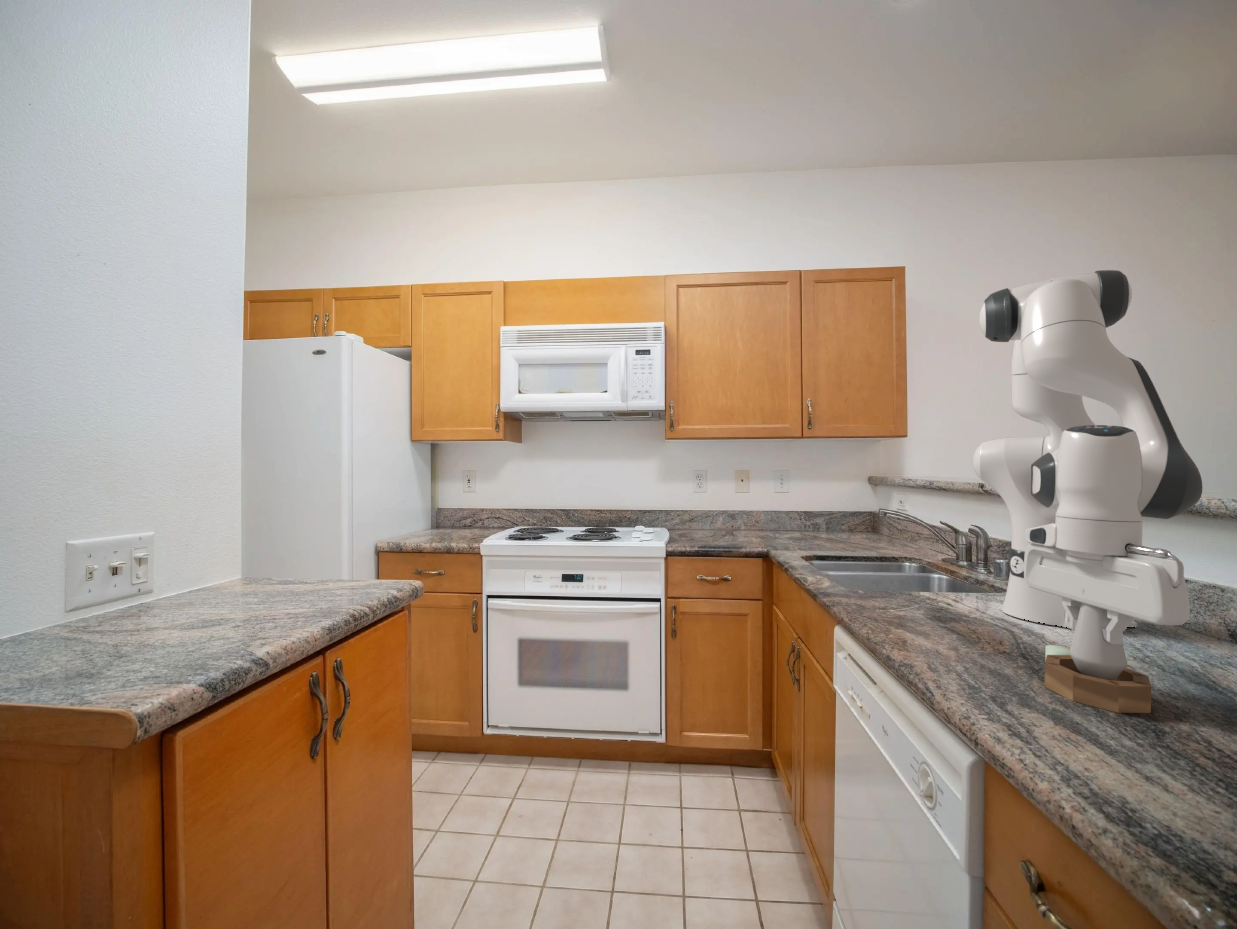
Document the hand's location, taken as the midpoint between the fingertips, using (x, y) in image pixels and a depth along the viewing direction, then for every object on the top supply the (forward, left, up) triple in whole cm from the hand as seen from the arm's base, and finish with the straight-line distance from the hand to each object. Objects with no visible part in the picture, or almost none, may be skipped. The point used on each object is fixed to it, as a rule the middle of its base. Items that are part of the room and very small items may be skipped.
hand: (1094, 636), depth 70 cm
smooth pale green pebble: (-4, -9, -8) cm, 13 cm away
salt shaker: (0, 0, -5) cm, 5 cm away
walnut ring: (0, 0, -8) cm, 8 cm away
